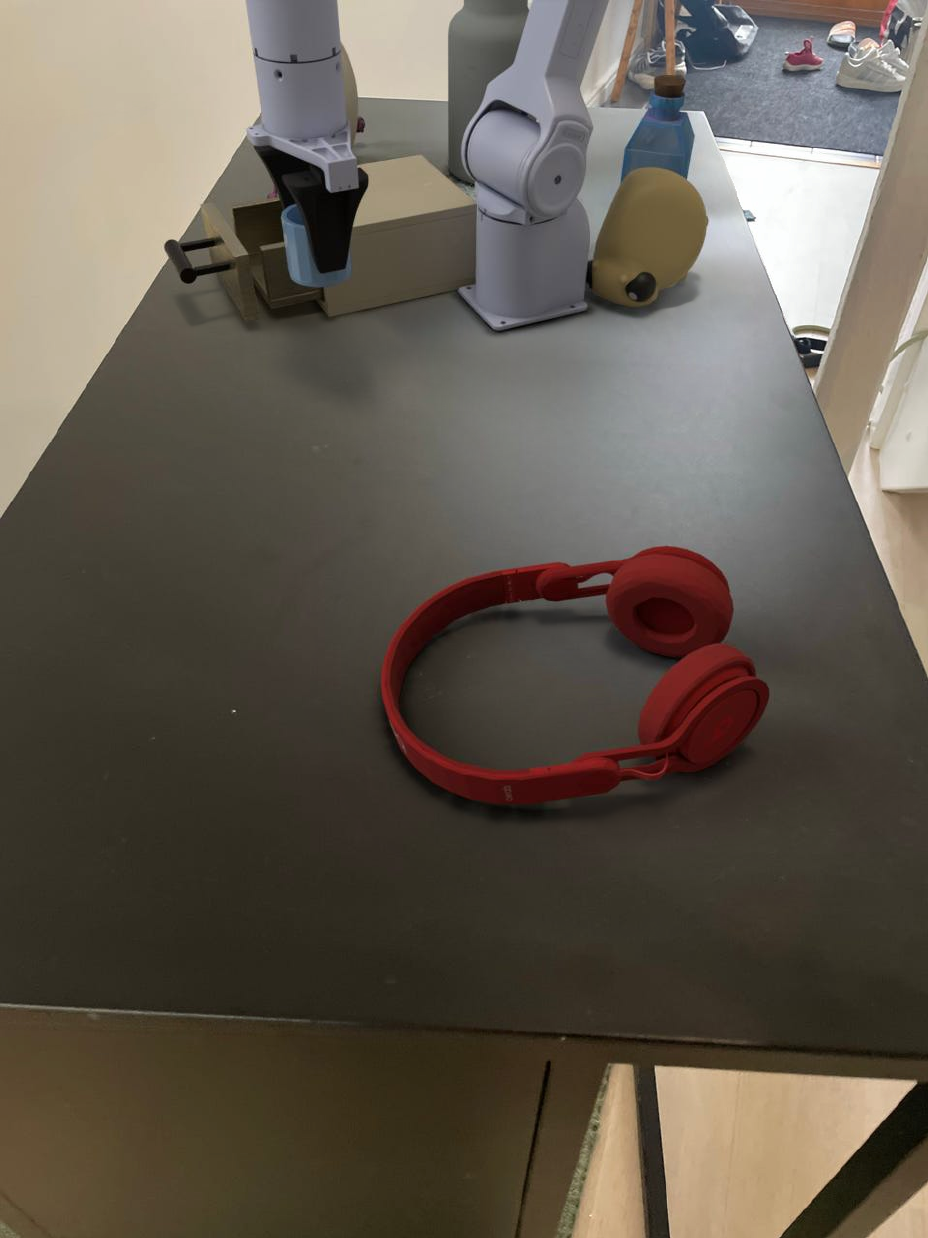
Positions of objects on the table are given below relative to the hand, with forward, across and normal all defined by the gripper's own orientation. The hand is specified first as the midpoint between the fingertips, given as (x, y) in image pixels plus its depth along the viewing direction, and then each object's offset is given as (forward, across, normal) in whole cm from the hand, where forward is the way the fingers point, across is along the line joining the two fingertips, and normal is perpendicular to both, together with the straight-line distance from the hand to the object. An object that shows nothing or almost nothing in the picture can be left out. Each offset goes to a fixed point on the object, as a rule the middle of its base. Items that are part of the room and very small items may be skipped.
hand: (319, 254), depth 69 cm
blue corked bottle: (+10, -16, +43) cm, 47 cm away
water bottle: (+10, -32, +31) cm, 45 cm away
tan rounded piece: (+10, 0, +31) cm, 32 cm away
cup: (+1, 0, 0) cm, 1 cm away
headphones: (+10, +39, -1) cm, 40 cm away
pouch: (+10, -36, +12) cm, 39 cm away
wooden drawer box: (+9, -14, +10) cm, 19 cm away
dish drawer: (+9, -14, 0) cm, 16 cm away
